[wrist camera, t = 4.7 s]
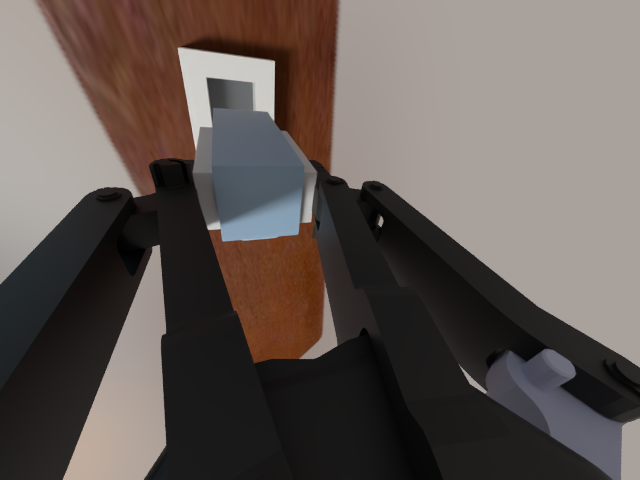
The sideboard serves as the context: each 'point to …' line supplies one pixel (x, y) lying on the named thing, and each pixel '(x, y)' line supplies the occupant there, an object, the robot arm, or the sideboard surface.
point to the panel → (225, 84)
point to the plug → (254, 176)
